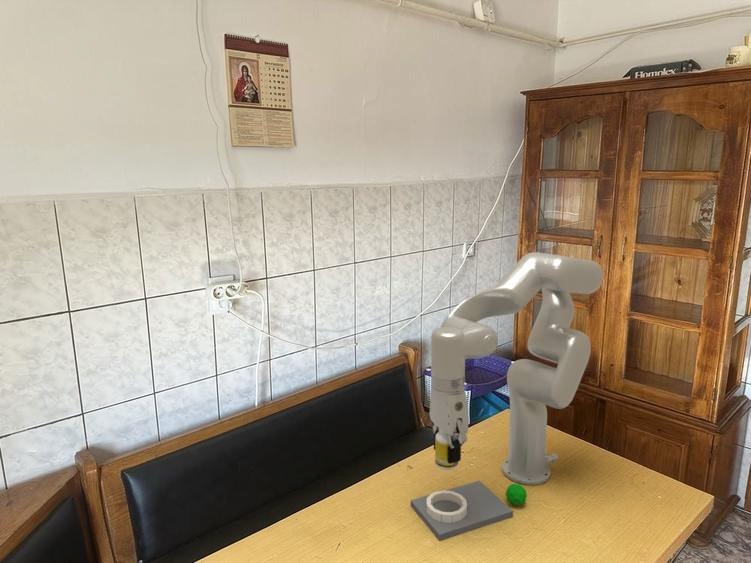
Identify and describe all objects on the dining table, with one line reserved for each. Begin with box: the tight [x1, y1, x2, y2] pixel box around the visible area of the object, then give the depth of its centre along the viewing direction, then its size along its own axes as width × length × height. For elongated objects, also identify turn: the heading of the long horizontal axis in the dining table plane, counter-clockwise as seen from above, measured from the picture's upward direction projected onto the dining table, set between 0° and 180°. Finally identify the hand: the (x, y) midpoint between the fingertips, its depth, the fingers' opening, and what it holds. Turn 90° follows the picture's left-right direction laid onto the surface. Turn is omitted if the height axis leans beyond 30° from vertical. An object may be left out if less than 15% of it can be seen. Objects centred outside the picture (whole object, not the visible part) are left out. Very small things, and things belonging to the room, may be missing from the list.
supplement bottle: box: [434, 428, 459, 471], centre depth 124 cm, size 5×5×10 cm
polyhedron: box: [505, 483, 528, 506], centre depth 131 cm, size 5×5×5 cm
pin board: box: [410, 480, 514, 542], centre depth 129 cm, size 20×14×4 cm
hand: (446, 454), depth 124 cm, fingers closed on supplement bottle, 5 cm apart
